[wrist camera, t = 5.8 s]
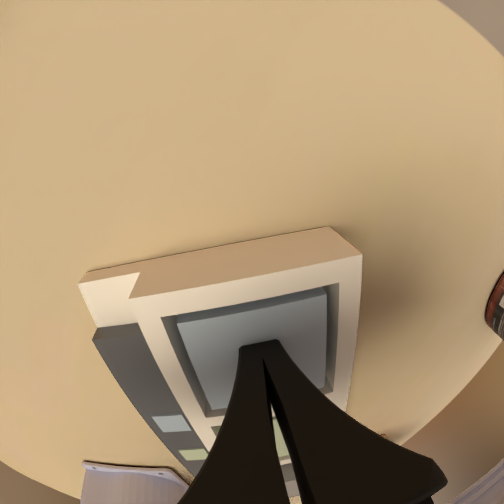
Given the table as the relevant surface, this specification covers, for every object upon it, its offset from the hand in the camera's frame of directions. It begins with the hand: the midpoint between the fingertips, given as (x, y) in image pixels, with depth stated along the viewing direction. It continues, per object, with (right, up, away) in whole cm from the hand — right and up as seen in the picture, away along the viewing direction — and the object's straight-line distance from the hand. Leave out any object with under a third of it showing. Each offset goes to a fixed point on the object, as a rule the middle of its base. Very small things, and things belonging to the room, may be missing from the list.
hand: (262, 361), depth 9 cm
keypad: (-1, -5, +5) cm, 7 cm away
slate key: (0, 0, +1) cm, 1 cm away
